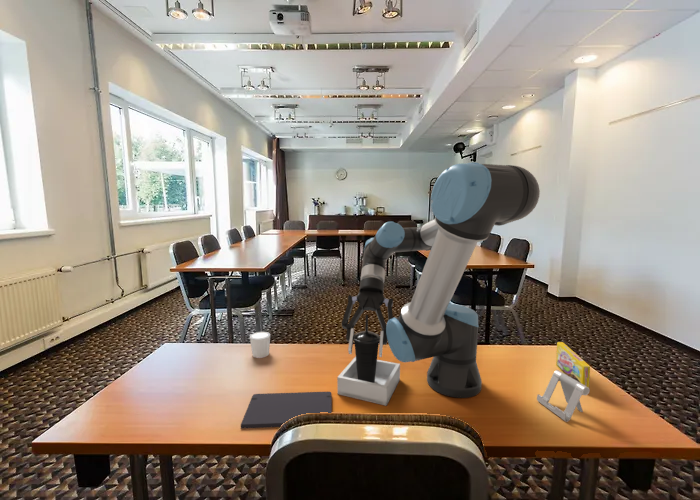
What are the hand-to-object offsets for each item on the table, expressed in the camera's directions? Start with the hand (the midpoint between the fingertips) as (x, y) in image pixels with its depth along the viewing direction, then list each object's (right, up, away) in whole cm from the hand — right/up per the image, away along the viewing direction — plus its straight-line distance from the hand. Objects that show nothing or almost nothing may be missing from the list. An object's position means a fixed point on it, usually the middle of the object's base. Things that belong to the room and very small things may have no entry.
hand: (365, 353), depth 92 cm
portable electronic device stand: (+50, -13, -6) cm, 52 cm away
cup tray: (+2, -11, +4) cm, 12 cm away
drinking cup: (+1, -10, +5) cm, 11 cm away
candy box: (+62, -10, +9) cm, 64 cm away
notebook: (-20, -13, -7) cm, 24 cm away
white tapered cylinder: (-35, -8, +25) cm, 44 cm away
